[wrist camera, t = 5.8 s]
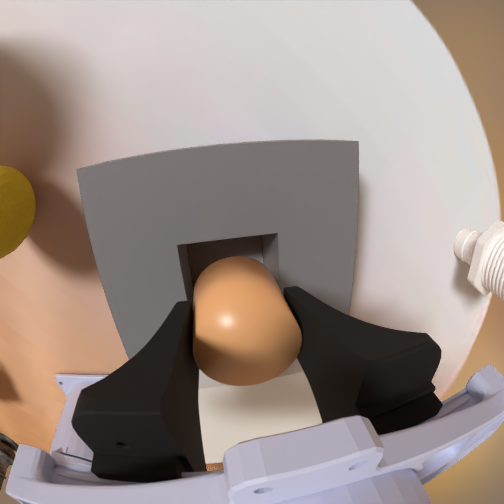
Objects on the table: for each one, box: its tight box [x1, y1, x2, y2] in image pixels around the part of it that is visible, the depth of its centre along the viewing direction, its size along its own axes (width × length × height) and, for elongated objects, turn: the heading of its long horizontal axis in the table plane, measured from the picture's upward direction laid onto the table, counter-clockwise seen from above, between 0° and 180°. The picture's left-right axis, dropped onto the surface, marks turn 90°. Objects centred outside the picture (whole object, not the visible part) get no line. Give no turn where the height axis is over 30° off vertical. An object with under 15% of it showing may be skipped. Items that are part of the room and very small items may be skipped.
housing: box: [77, 140, 359, 360], centre depth 19 cm, size 22×14×4 cm, turn 4°
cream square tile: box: [198, 357, 322, 464], centre depth 17 cm, size 10×10×2 cm
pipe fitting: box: [454, 220, 504, 300], centre depth 19 cm, size 6×7×8 cm
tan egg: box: [193, 256, 302, 386], centre depth 12 cm, size 4×4×4 cm
